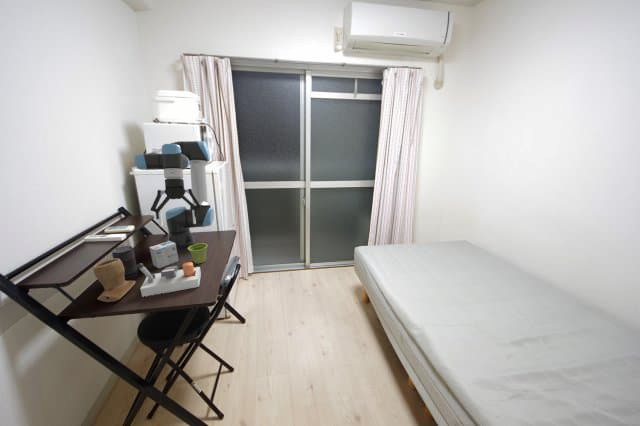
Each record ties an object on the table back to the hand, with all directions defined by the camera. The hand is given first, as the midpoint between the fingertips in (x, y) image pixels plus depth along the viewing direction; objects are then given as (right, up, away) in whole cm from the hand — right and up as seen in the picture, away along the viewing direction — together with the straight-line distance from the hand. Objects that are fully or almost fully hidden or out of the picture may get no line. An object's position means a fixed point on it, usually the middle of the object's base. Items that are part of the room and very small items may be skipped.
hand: (178, 225), depth 118 cm
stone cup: (-23, -30, -7) cm, 38 cm away
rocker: (-2, -21, -2) cm, 21 cm away
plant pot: (0, -21, +22) cm, 30 cm away
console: (-2, -27, 0) cm, 27 cm away
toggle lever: (-10, -23, -4) cm, 26 cm away
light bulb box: (-18, -22, +20) cm, 34 cm away
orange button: (+5, -24, +1) cm, 24 cm away
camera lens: (-27, -26, +6) cm, 38 cm away
